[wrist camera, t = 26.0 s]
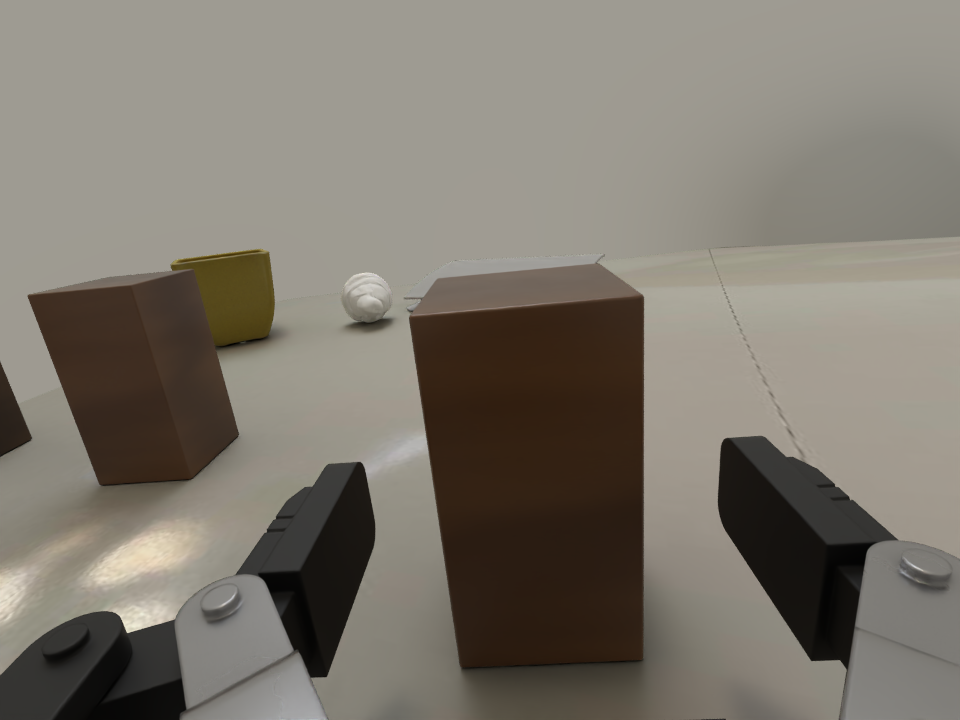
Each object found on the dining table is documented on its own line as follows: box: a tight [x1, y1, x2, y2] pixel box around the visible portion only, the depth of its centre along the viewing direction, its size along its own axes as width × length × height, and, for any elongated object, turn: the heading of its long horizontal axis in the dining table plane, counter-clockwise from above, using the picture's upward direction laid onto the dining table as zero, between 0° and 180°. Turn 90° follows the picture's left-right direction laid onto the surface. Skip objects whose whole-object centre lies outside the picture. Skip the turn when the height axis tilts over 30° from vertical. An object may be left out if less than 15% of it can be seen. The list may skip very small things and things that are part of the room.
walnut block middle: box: [28, 269, 239, 485], centre depth 27 cm, size 5×5×10 cm
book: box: [404, 254, 605, 311], centre depth 61 cm, size 15×23×4 cm, turn 65°
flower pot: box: [171, 249, 275, 346], centre depth 54 cm, size 9×9×9 cm
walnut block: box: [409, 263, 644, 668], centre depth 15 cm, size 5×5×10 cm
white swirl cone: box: [341, 273, 392, 323], centre depth 54 cm, size 6×6×6 cm
